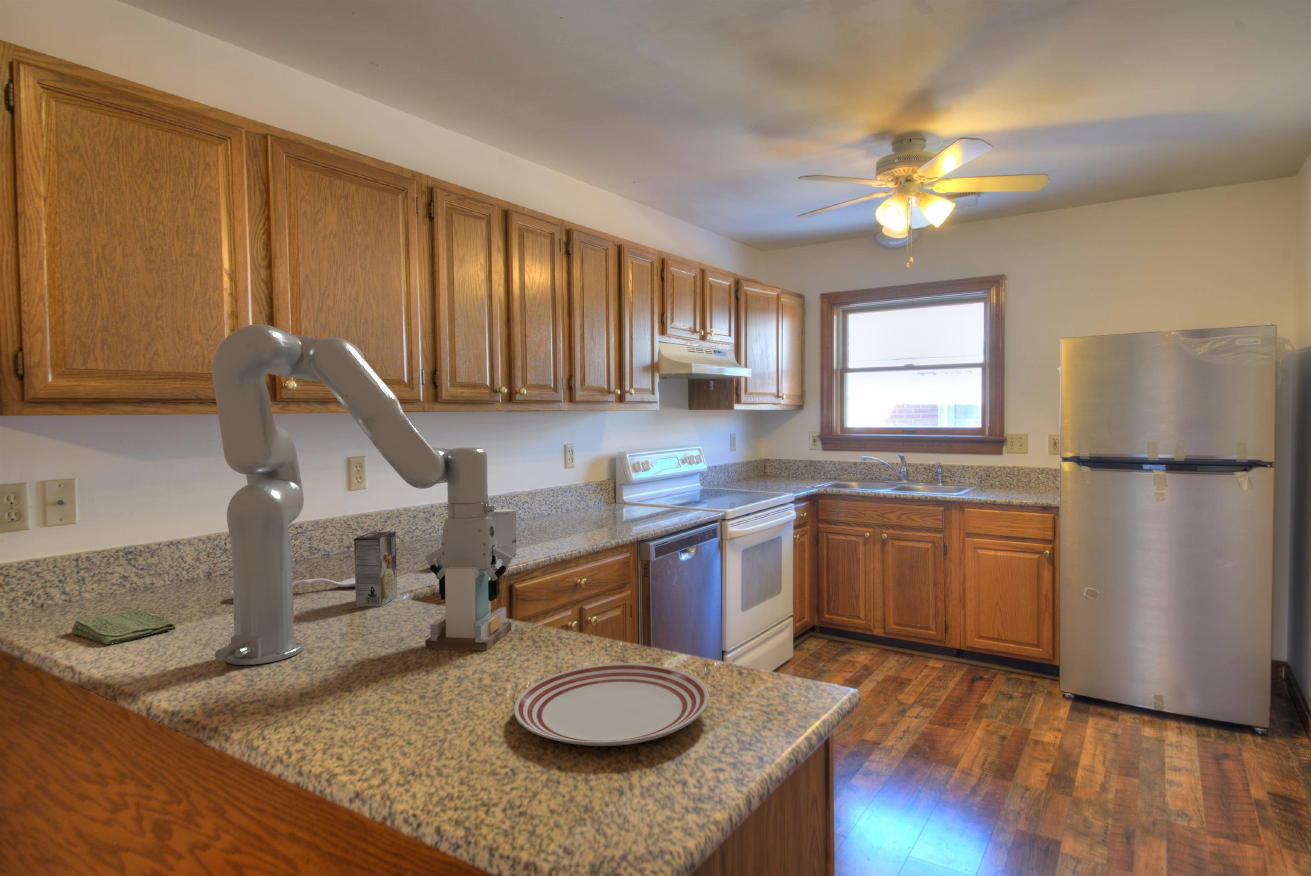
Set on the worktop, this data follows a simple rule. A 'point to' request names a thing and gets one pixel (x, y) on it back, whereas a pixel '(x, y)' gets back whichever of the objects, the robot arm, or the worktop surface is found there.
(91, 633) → the washcloth
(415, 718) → the worktop surface
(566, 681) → the dinner plate
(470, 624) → the carton
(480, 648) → the napkin stand
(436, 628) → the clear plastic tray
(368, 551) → the coffee box
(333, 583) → the spoon
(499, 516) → the skincare box
